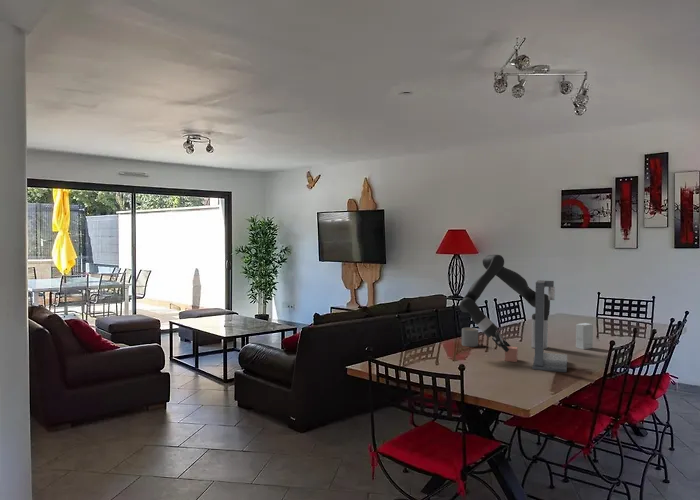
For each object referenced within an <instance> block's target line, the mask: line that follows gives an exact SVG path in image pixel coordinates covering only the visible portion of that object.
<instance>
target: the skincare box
mask: <svg viewBox="0 0 700 500" xmlns="http://www.w3.org/2000/svg"><path fill="white" fill-rule="evenodd" d="M593 329H594V324H592V323H588V322H582V323H576V324H575V348H576V349H579V350H588V349H592V348H593V334H594V332H593V331H594V330H593Z"/></svg>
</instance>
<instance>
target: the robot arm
mask: <svg viewBox="0 0 700 500" xmlns="http://www.w3.org/2000/svg"><path fill="white" fill-rule="evenodd" d="M482 266H483V268H485V270H486V271H484V273H482V274H481V275H480V276H479V277H478V278H477V279H475V281H473V283H472V285H471V286H470V288H469V289H468V291H467V293H466V294H465V295H464V297H463V299H462V300H461V301H460V303H459V304H458V305H459V309H460V311H461V312H462V313H468V314H469V316H470V319H471V320H472V321H473V323H475V324H476V326H477V327H478V329H480V331H481V332H482V333H483V334H484V335H485V336H486V337H487V338H490V337H491V340H492V341H494V343H495V344H496V345H497V346H498V347H499V348H502V350H504V353H505V352H507V351H508V350H509V348H508V347H507V346H510V347H512V346H511V345H510V344H509V342H508V341H507V338H505V336H503V334H501V333H500V331H499V327H498V326H497V325H496V324H495V323H494V322H493V320H491V319H490V318H489V317H488V316H487V315H486V314H485V313H484V312H483V311H482V310H481V309H480V307H479V306H478V304H477V300H479V299H480V297H481V295H482V294H483V292H484V291H485V289H486V288H487V286H488V285H489V283H491V281H492V280H493V279H494V278H495V277H498V278H499V279H500V280H501V281H502V282H503V283H505V284H506V285H507V286H508V287H509V288H510V289H512V290H513V291H514V292H516V293H517V294H518V295H520V296H521V297H522V298H523V299H525V301H526V302H527V303H528V304H529V305H530V306H531V307H532V308H535V300H536V290H535V291H534V289H532V288H531V287H530V286H529V284H528V282H527V280H526V279H525V277H523V276H522V275H521V274H520V273H518V272H516V271H514V270H512V269H509V268H507V267H505V259H504V257H503V256H502V255H501V254H488V255H484V257H483V258H482ZM550 308H551V300H548V294H546V293H544V350H545V349H548V345H549V343H548V339H549V338H548V337H549V336H548V335H549V334H548V333H549V329H548V328H549V316H550V311H551V310H550ZM531 348H532V349H533V348H534V349H535V313H532V315H531Z"/></svg>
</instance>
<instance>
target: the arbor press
mask: <svg viewBox="0 0 700 500" xmlns="http://www.w3.org/2000/svg"><path fill="white" fill-rule="evenodd" d="M554 284H555V282H554V280H539V279H538V280H536V282H535V292H536V300H535V307H534V308H535V312H534V314H535V348H534V356H533V363H532V367H531V368H532V370H538V371H547V372H549V371H550V372H557V373H567V371H568V370H567V368H568V354H561V353H553V352H552V353H551V352H550V353H549V352H544V350H545V349H544V294H545V288H548V292H547V293H548V294H547V295H548V300H550V301H555V296H556V295H555V293H556V291H555V290H556V289H555V285H554Z"/></svg>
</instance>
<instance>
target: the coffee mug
mask: <svg viewBox="0 0 700 500" xmlns="http://www.w3.org/2000/svg"><path fill="white" fill-rule="evenodd" d="M461 345H462V346H463V347H472V348H473V347H478V346H479V328H476V327H463V328H461Z"/></svg>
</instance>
